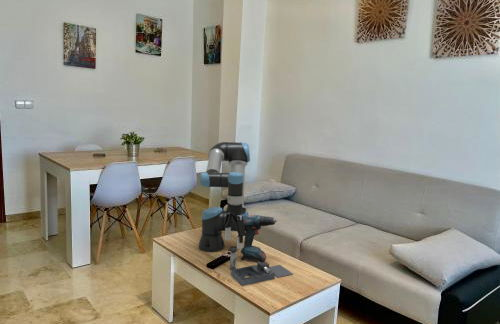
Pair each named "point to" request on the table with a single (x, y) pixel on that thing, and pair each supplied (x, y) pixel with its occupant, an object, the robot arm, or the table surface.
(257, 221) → the power drill
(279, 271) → the rubber mat
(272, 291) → the table surface
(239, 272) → the plate
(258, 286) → the table surface
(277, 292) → the table surface
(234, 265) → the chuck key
